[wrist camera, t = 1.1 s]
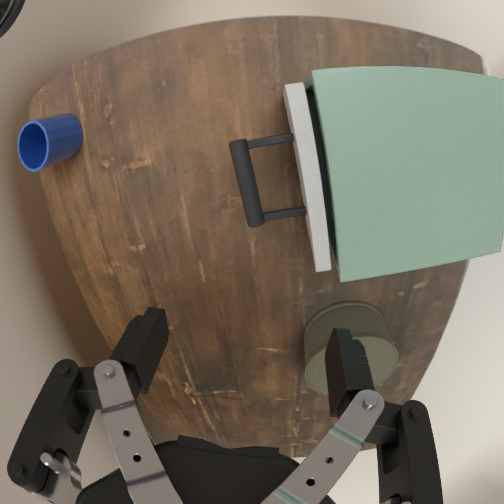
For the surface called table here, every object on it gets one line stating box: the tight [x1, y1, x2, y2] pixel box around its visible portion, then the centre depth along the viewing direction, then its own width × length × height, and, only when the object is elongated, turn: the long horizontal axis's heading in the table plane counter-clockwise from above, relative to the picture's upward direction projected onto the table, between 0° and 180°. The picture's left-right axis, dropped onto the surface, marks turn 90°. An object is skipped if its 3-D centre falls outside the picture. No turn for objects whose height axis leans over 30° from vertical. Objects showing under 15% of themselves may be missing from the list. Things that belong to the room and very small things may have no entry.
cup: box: [18, 114, 82, 172], centre depth 24 cm, size 6×6×6 cm
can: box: [304, 301, 398, 396], centre depth 34 cm, size 12×12×7 cm
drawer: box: [228, 82, 334, 272], centre depth 21 cm, size 20×14×9 cm
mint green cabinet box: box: [302, 66, 504, 282], centre depth 21 cm, size 16×15×11 cm
